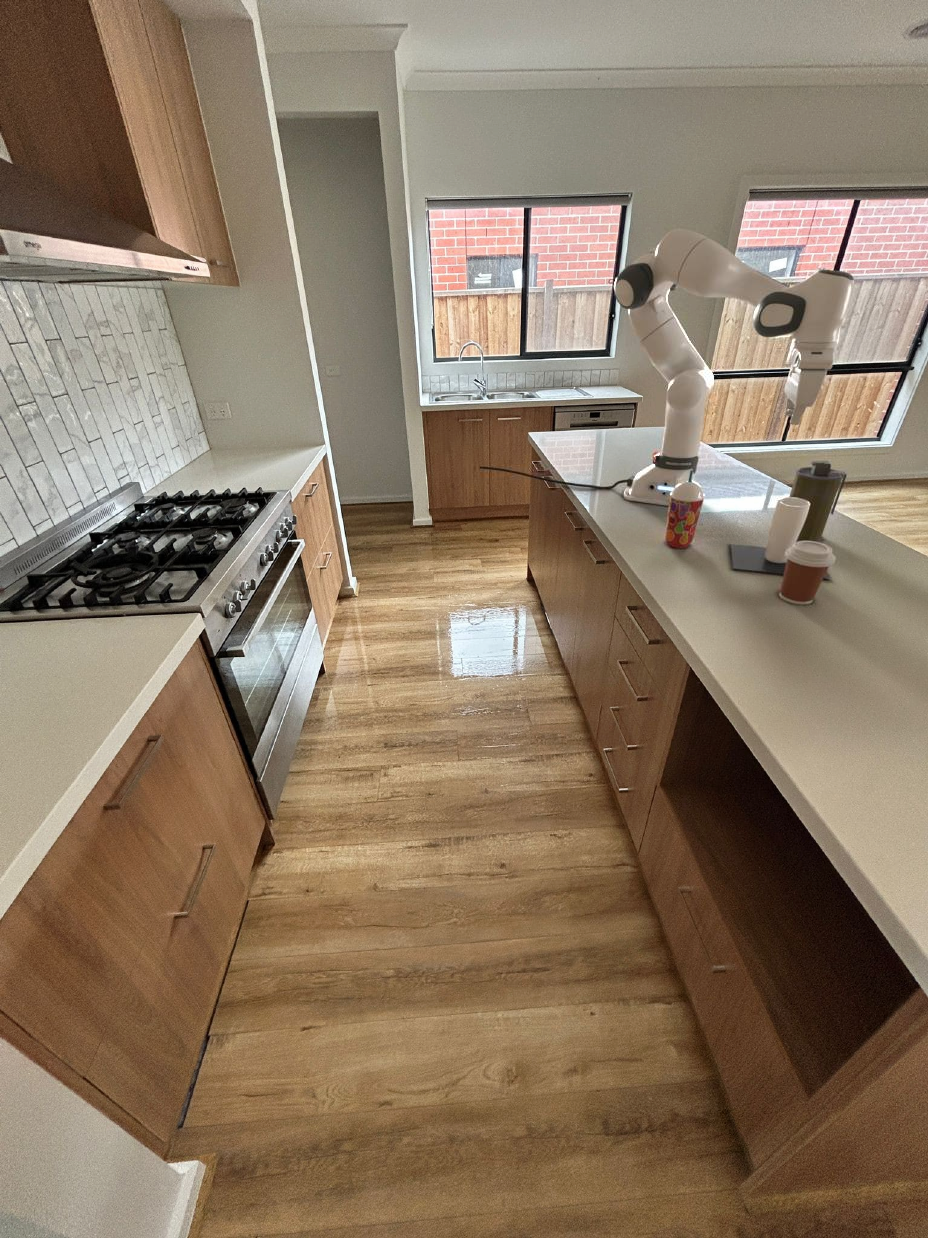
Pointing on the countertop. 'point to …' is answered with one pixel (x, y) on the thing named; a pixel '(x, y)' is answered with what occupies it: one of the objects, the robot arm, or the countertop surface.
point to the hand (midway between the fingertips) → (790, 419)
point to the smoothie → (683, 513)
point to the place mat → (755, 560)
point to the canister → (817, 496)
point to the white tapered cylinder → (785, 527)
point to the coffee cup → (805, 570)
